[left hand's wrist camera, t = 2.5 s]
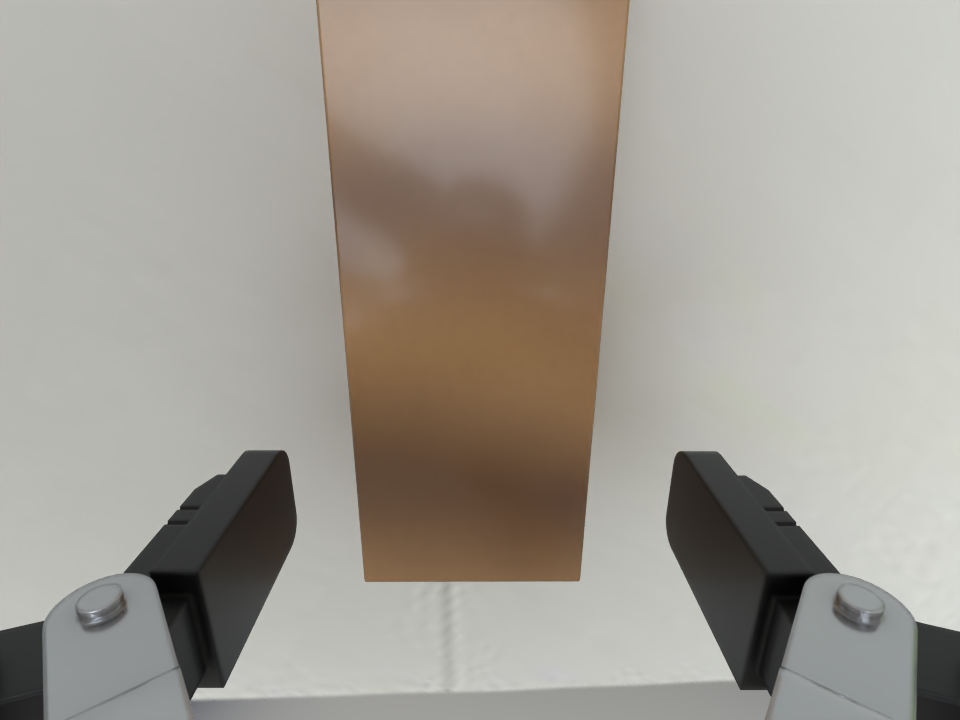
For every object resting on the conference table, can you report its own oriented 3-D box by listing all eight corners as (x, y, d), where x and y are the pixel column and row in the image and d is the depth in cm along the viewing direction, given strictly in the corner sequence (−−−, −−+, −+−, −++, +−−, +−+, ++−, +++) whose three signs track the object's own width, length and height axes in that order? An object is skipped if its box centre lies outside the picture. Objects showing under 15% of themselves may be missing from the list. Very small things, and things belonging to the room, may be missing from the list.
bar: (544, 436, 22) (580, 582, 14) (402, 436, 22) (364, 582, 14) (600, -656, 12) (795, -1923, 5) (349, -661, 12) (151, -1948, 5)
